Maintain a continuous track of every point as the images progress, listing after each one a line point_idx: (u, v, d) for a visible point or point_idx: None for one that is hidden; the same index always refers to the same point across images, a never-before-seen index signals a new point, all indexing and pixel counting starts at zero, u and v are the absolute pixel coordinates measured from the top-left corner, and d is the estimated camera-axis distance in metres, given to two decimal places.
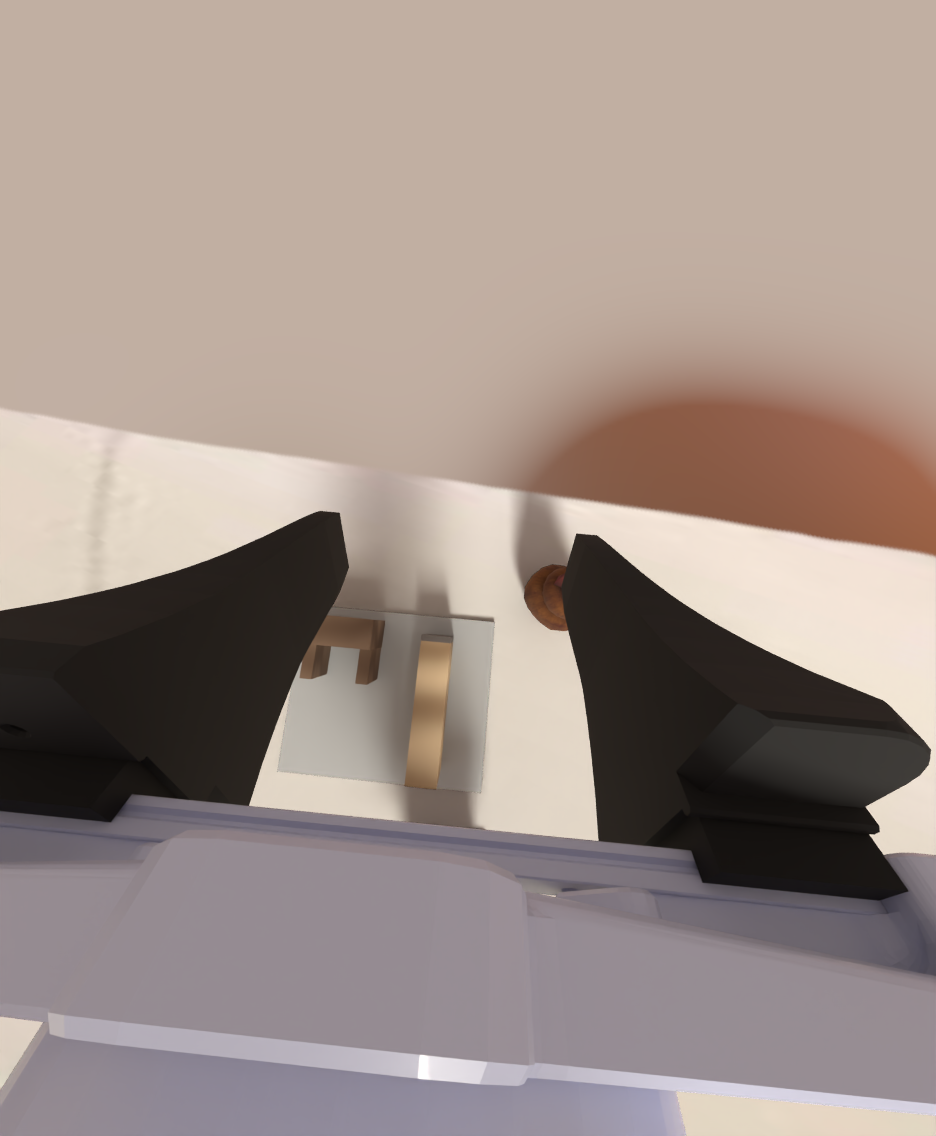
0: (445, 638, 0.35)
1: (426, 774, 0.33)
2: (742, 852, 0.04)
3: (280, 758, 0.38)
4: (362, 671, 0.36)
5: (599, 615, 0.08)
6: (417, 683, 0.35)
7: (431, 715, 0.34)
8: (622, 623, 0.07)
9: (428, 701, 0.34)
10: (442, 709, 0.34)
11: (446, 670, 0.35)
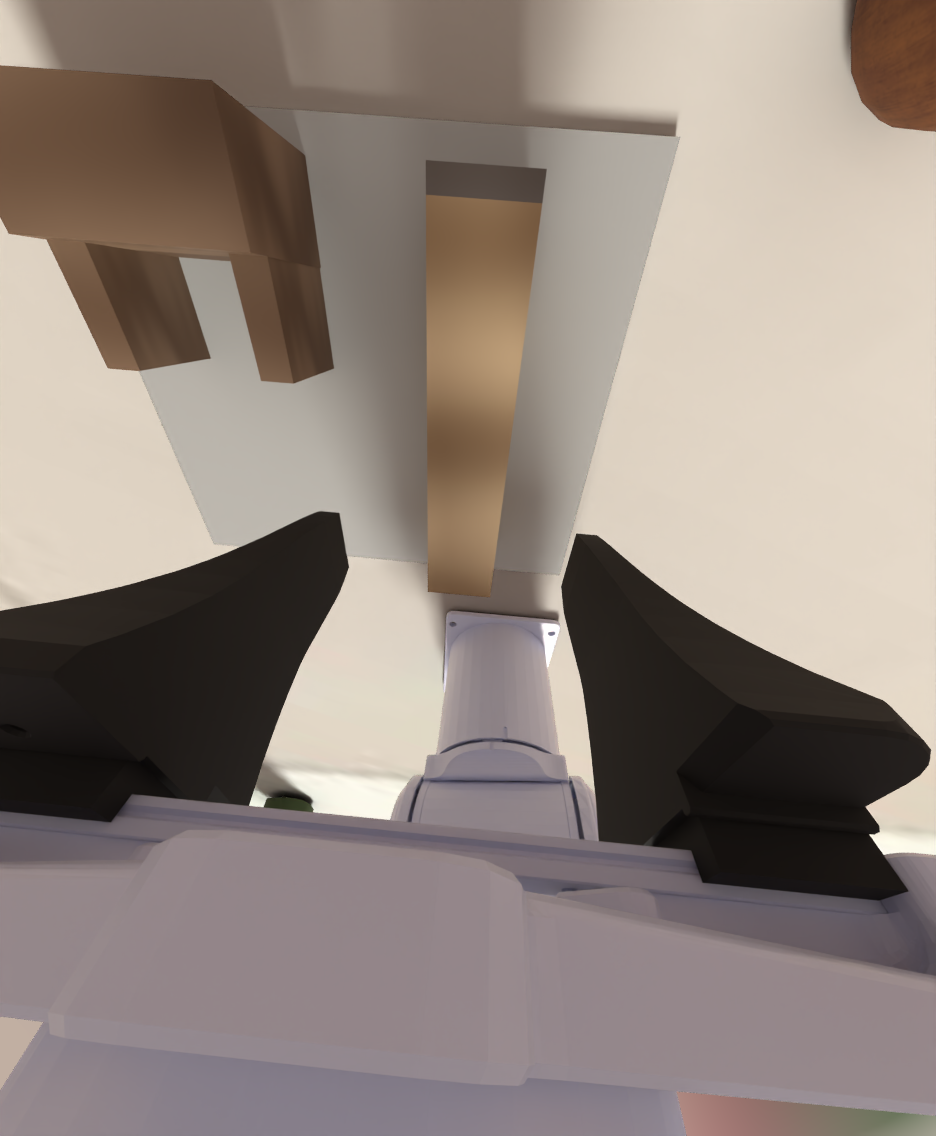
0: (522, 177, 0.09)
1: (468, 575, 0.16)
2: (742, 852, 0.04)
3: (208, 526, 0.22)
4: (267, 341, 0.12)
5: (599, 615, 0.08)
6: (431, 375, 0.12)
7: (476, 463, 0.13)
8: (622, 623, 0.07)
9: (465, 429, 0.12)
10: (505, 449, 0.13)
11: (520, 326, 0.11)
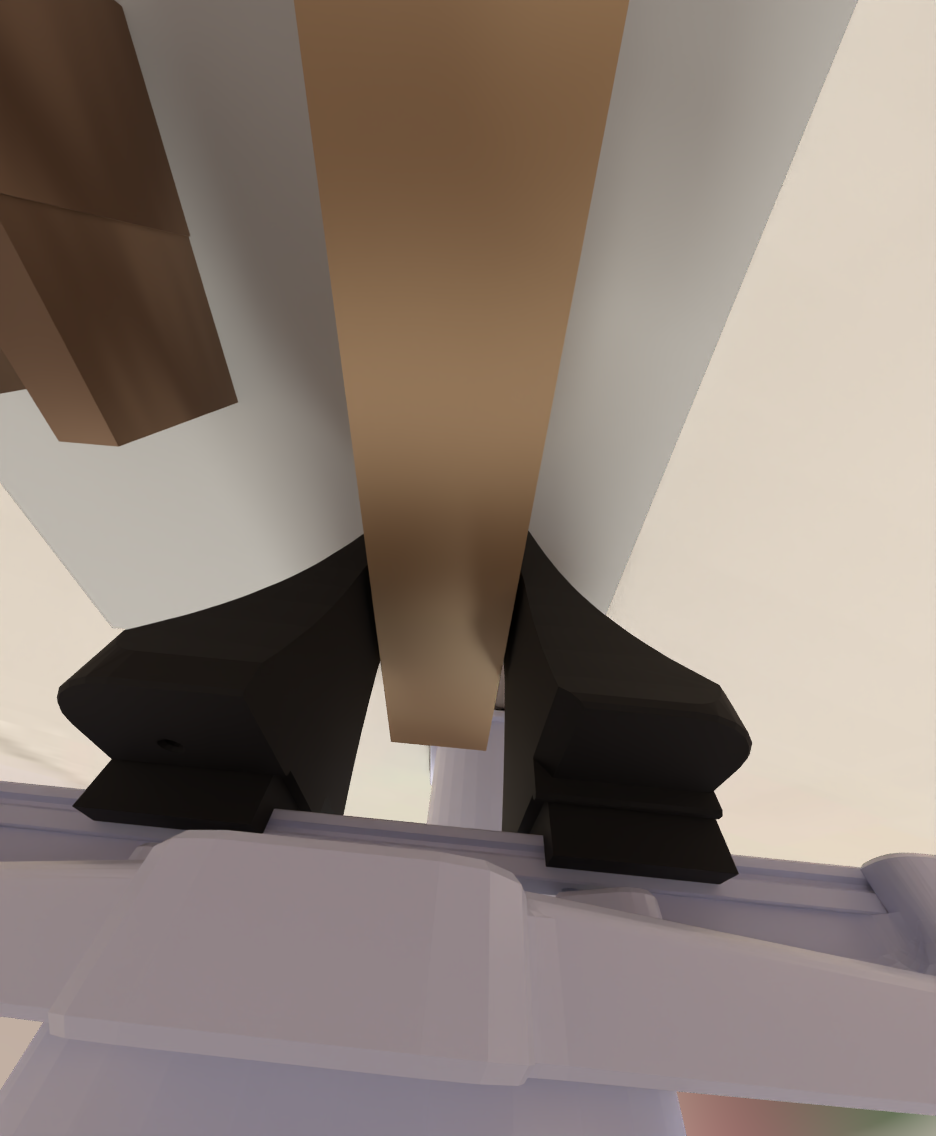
0: None
1: (452, 726, 0.10)
2: (581, 836, 0.04)
3: (99, 607, 0.16)
4: (46, 371, 0.06)
5: (514, 607, 0.08)
6: (361, 444, 0.06)
7: (458, 589, 0.07)
8: (522, 614, 0.07)
9: (437, 537, 0.07)
10: (512, 570, 0.07)
11: (551, 348, 0.05)
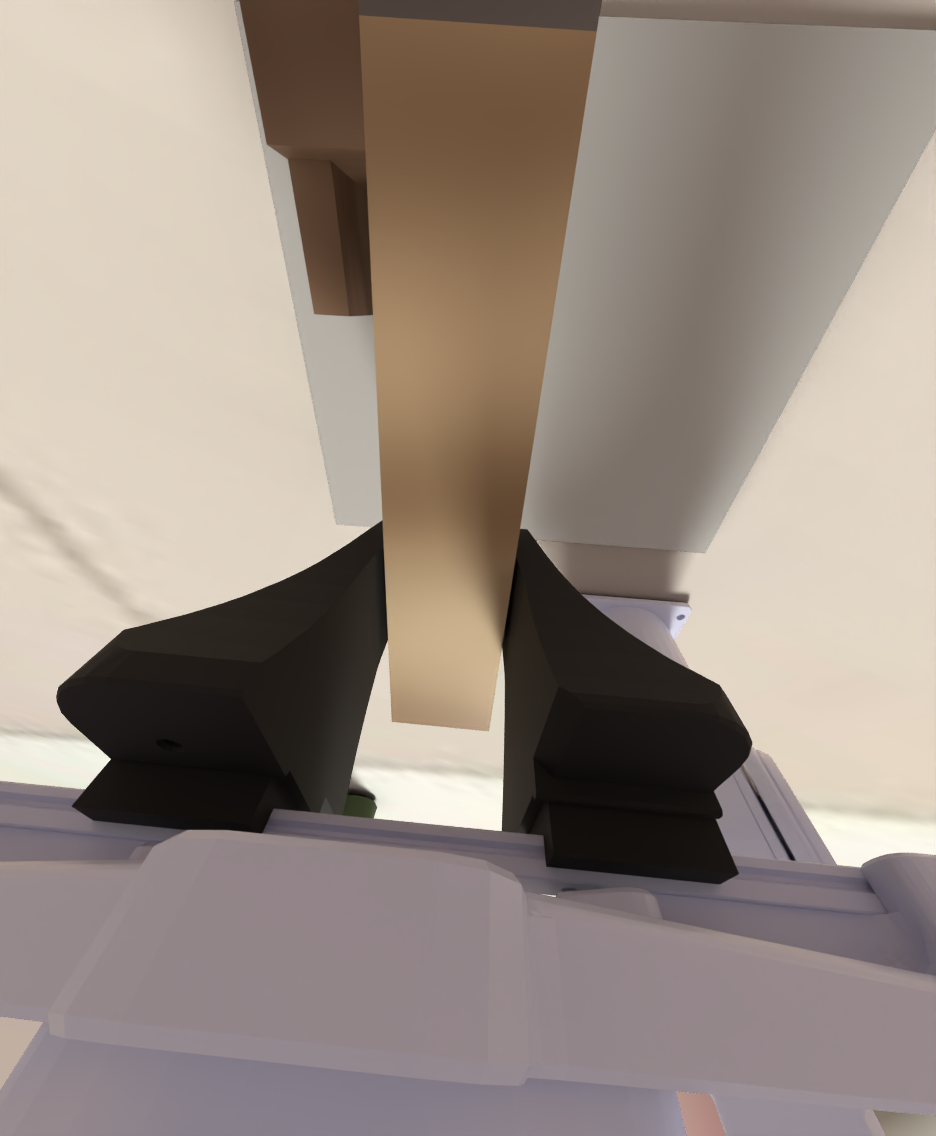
0: None
1: (455, 699, 0.10)
2: (581, 836, 0.04)
3: (334, 504, 0.21)
4: None
5: (513, 607, 0.08)
6: (384, 383, 0.06)
7: (465, 532, 0.08)
8: (522, 614, 0.07)
9: (446, 476, 0.07)
10: (515, 509, 0.07)
11: (547, 292, 0.06)
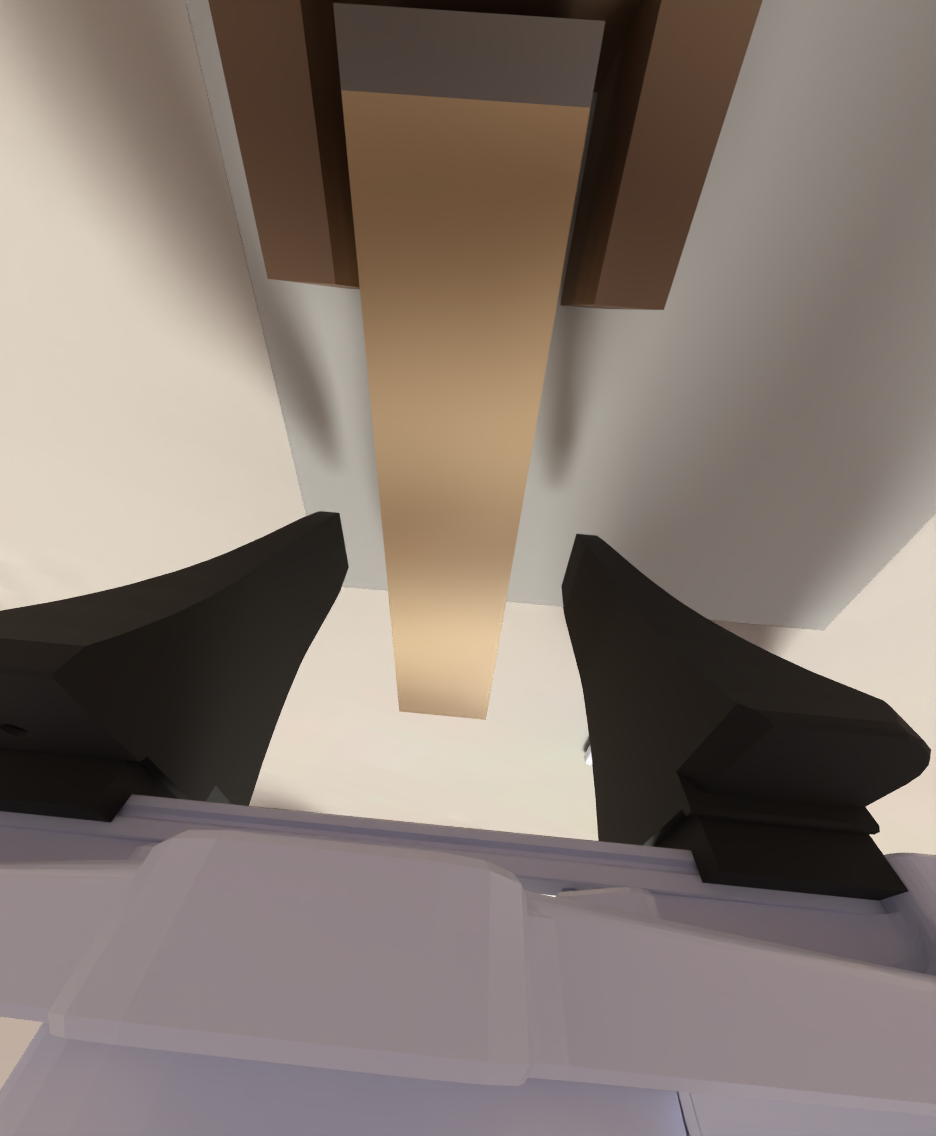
0: (549, 43, 0.04)
1: (455, 696, 0.11)
2: (742, 852, 0.04)
3: None
4: (655, 204, 0.05)
5: (598, 615, 0.08)
6: (381, 439, 0.07)
7: (462, 565, 0.08)
8: (622, 623, 0.07)
9: (443, 519, 0.08)
10: (508, 547, 0.08)
11: (537, 360, 0.06)
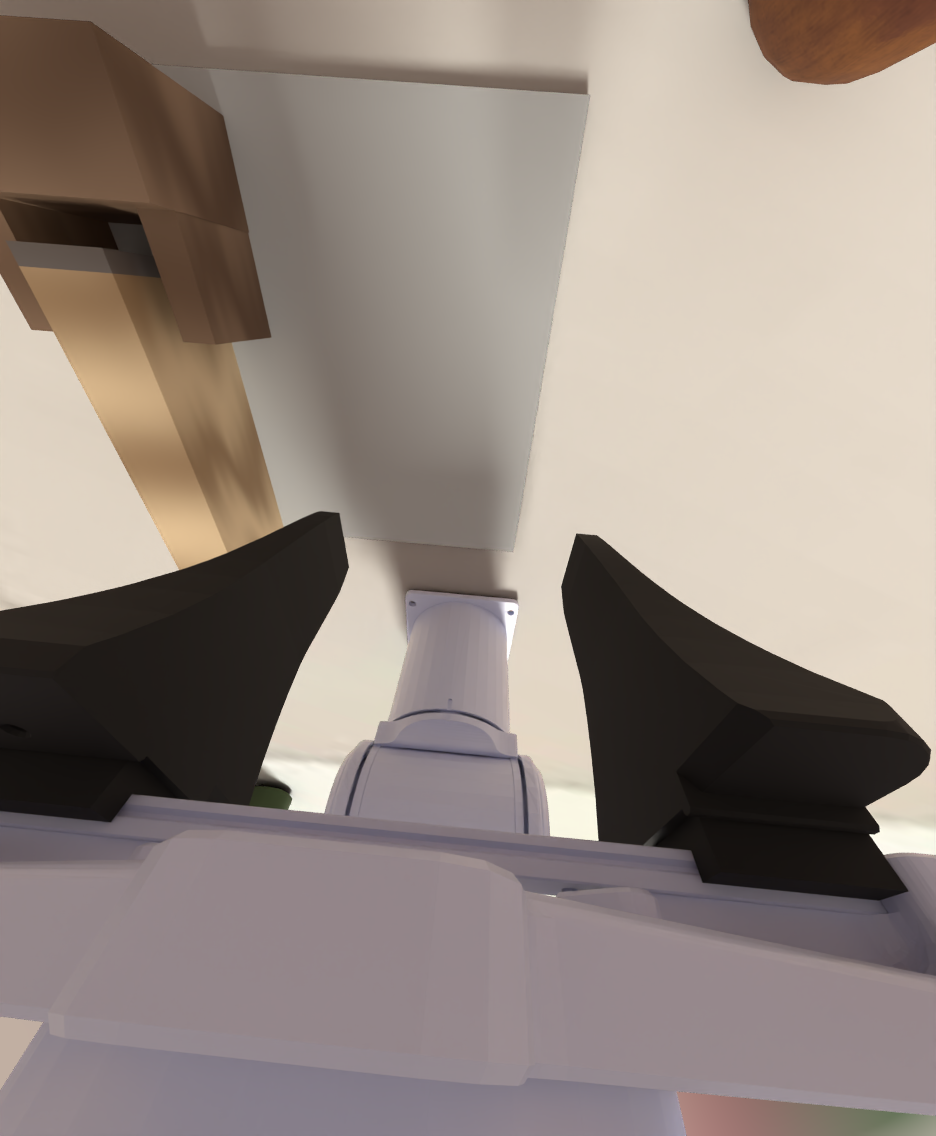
0: (86, 253, 0.11)
1: None
2: (742, 852, 0.04)
3: None
4: (184, 300, 0.12)
5: (599, 615, 0.08)
6: (96, 406, 0.14)
7: (171, 479, 0.15)
8: (622, 623, 0.07)
9: (147, 451, 0.14)
10: (188, 467, 0.15)
11: (146, 368, 0.13)
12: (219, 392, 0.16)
